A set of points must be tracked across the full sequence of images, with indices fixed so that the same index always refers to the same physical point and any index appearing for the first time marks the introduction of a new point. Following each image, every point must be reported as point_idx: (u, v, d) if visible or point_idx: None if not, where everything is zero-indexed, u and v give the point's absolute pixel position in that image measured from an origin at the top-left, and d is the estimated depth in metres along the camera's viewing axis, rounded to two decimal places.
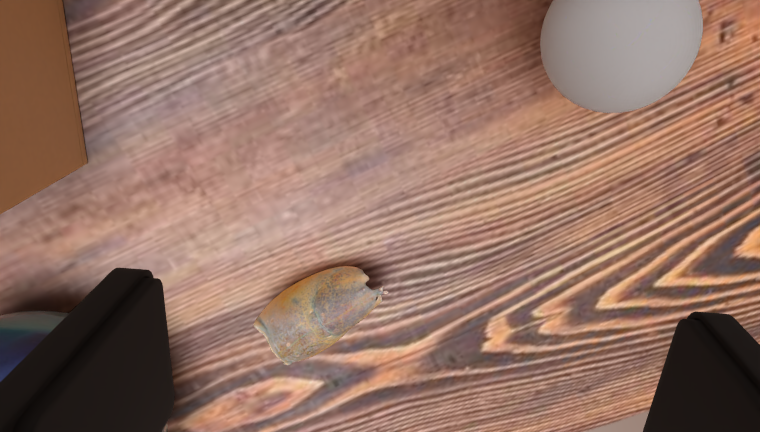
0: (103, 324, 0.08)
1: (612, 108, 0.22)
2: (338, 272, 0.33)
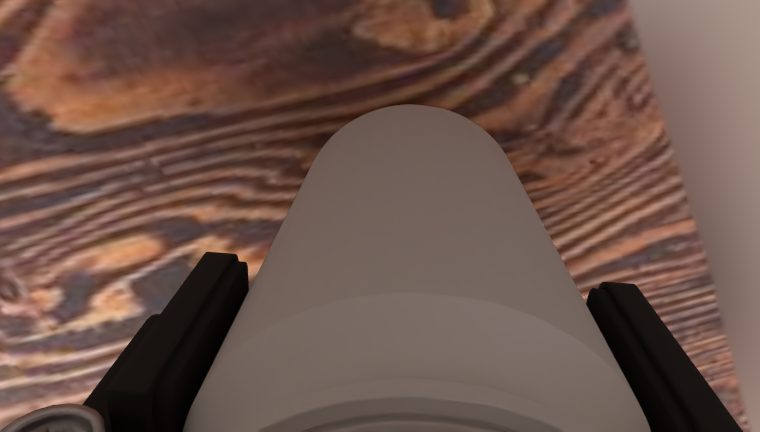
0: (209, 301, 0.09)
1: None
2: None
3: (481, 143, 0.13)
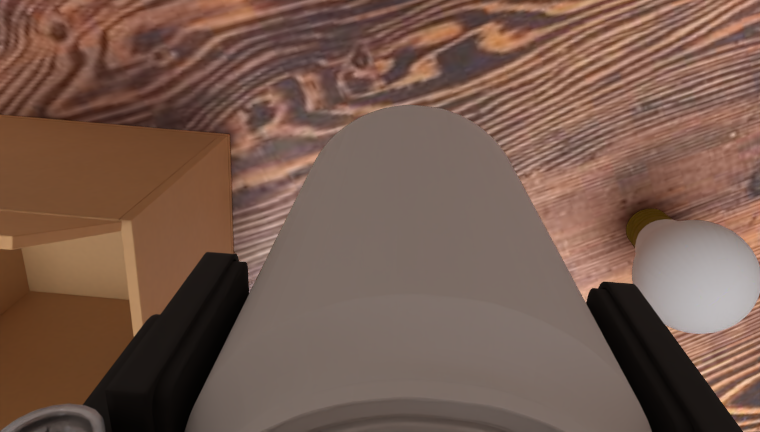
0: (209, 301, 0.09)
1: None
2: None
3: (482, 144, 0.13)
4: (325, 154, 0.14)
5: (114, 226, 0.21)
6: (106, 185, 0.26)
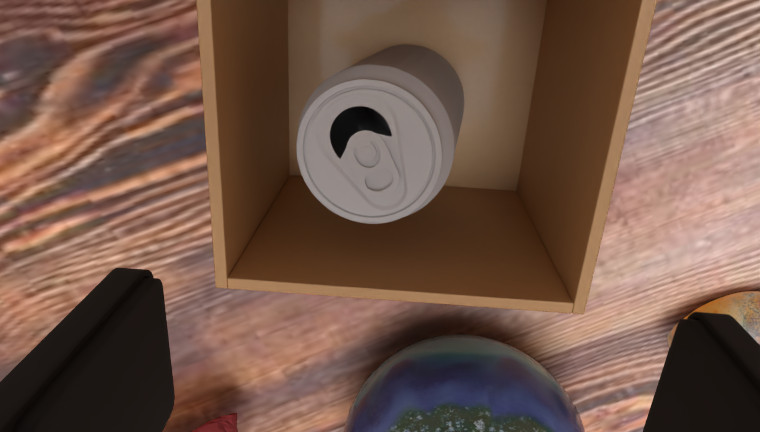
0: (103, 324, 0.08)
1: None
2: (756, 297, 0.35)
3: (433, 56, 0.28)
4: None
5: None
6: None
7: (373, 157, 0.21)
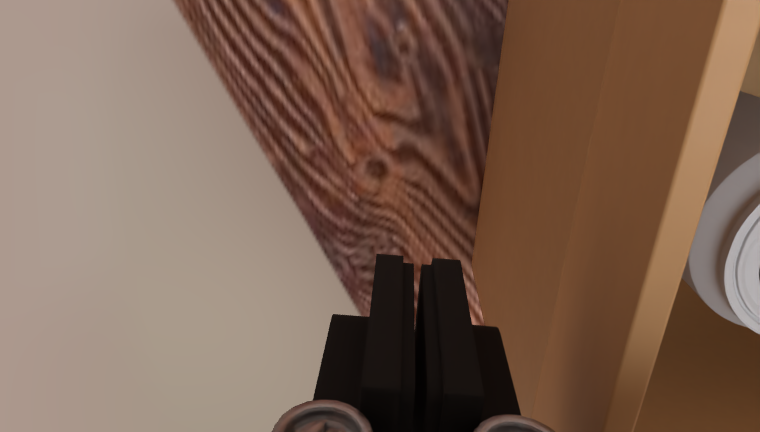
0: (404, 302, 0.09)
1: None
2: None
3: None
4: None
5: None
6: (565, 48, 0.15)
7: None
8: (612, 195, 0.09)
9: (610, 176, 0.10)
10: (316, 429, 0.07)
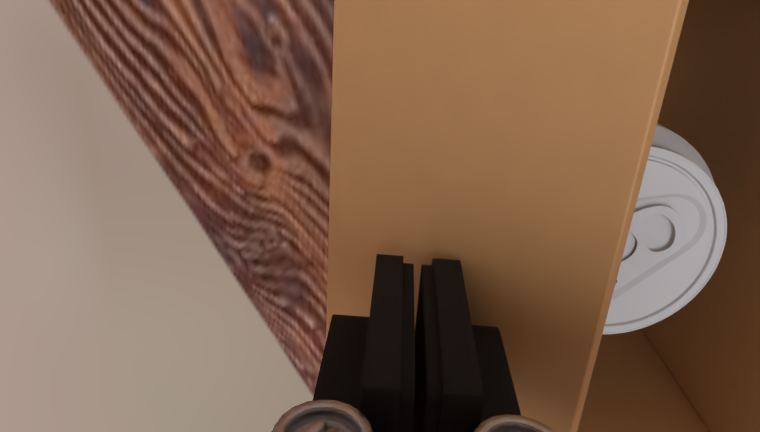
0: (404, 302, 0.09)
1: None
2: None
3: None
4: None
5: None
6: None
7: None
8: (467, 168, 0.10)
9: (445, 153, 0.10)
10: (316, 429, 0.07)
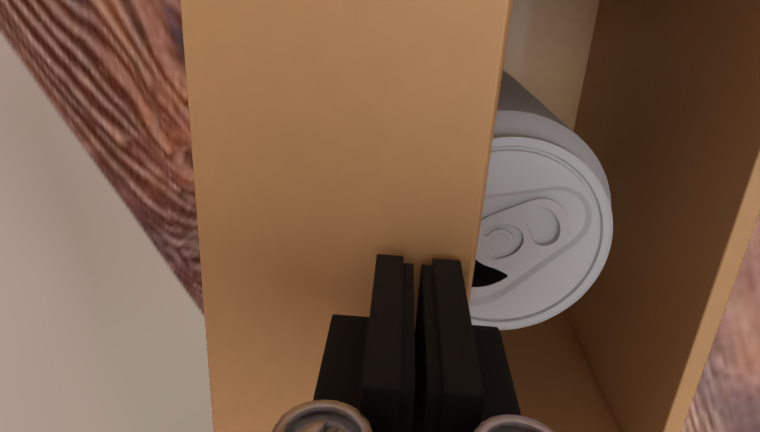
0: (404, 302, 0.09)
1: None
2: None
3: None
4: None
5: None
6: None
7: (508, 232, 0.15)
8: (340, 146, 0.11)
9: (316, 134, 0.11)
10: (316, 429, 0.07)
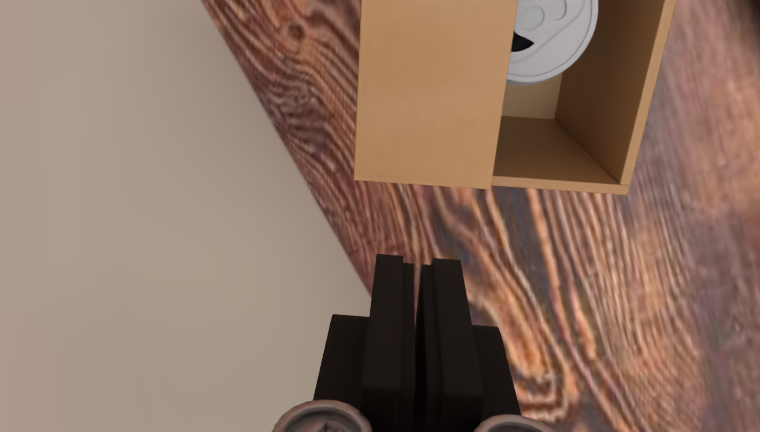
0: (404, 301, 0.09)
1: None
2: None
3: None
4: None
5: None
6: None
7: (535, 11, 0.25)
8: None
9: None
10: (316, 429, 0.07)
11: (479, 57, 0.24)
